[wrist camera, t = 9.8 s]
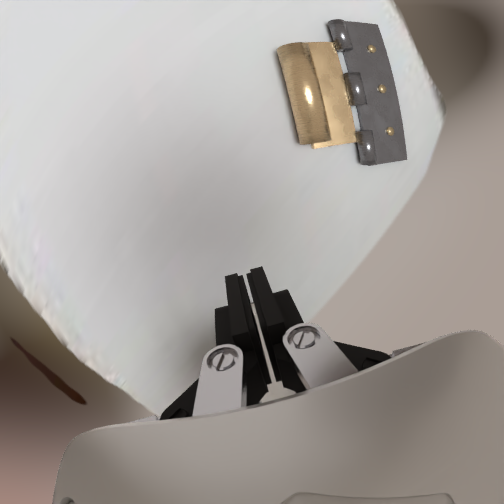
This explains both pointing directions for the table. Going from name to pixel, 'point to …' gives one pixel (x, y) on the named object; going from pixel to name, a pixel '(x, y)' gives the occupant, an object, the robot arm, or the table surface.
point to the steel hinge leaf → (371, 91)
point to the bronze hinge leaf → (317, 93)
